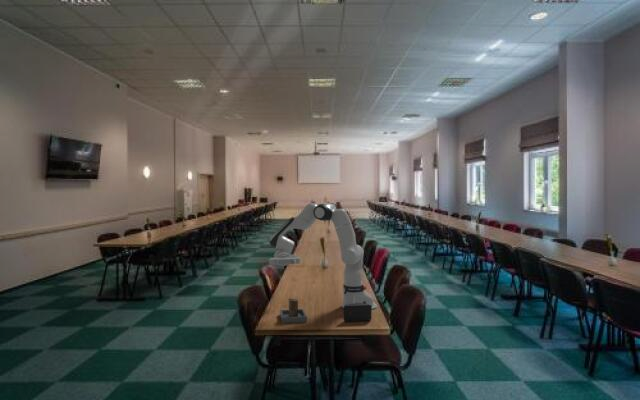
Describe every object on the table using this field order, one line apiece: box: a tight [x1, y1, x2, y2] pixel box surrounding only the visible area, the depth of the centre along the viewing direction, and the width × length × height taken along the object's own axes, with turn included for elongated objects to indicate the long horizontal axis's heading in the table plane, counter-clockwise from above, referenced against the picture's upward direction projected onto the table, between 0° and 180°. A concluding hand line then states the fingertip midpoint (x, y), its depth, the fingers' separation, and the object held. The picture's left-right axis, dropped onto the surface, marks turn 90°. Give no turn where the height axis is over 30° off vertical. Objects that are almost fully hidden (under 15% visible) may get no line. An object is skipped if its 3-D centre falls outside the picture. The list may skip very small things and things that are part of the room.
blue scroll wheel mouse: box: [343, 303, 373, 323], centre depth 208 cm, size 16×5×9 cm, turn 98°
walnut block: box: [288, 297, 299, 317], centre depth 210 cm, size 4×4×10 cm
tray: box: [279, 308, 308, 324], centre depth 210 cm, size 14×14×3 cm
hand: (286, 263), depth 231 cm, fingers open, 8 cm apart
